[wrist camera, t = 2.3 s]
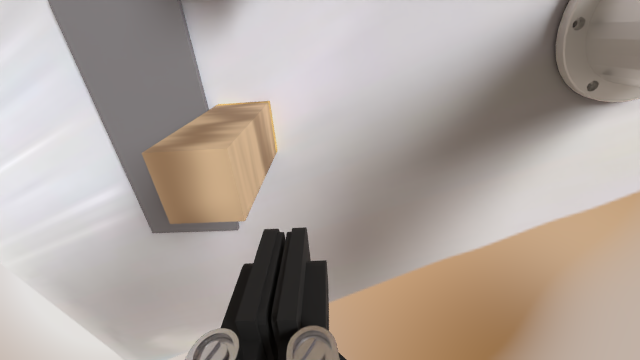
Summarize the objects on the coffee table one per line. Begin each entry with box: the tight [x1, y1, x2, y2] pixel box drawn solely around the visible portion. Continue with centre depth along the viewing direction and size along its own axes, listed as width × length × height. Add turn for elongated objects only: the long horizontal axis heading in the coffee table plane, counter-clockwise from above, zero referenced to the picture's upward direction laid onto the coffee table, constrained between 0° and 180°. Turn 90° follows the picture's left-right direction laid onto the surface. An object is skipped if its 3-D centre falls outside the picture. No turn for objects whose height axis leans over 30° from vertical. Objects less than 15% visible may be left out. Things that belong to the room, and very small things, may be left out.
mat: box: [48, 0, 239, 233], centre depth 28 cm, size 10×24×1 cm, turn 4°
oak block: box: [142, 101, 277, 224], centre depth 22 cm, size 5×5×12 cm
